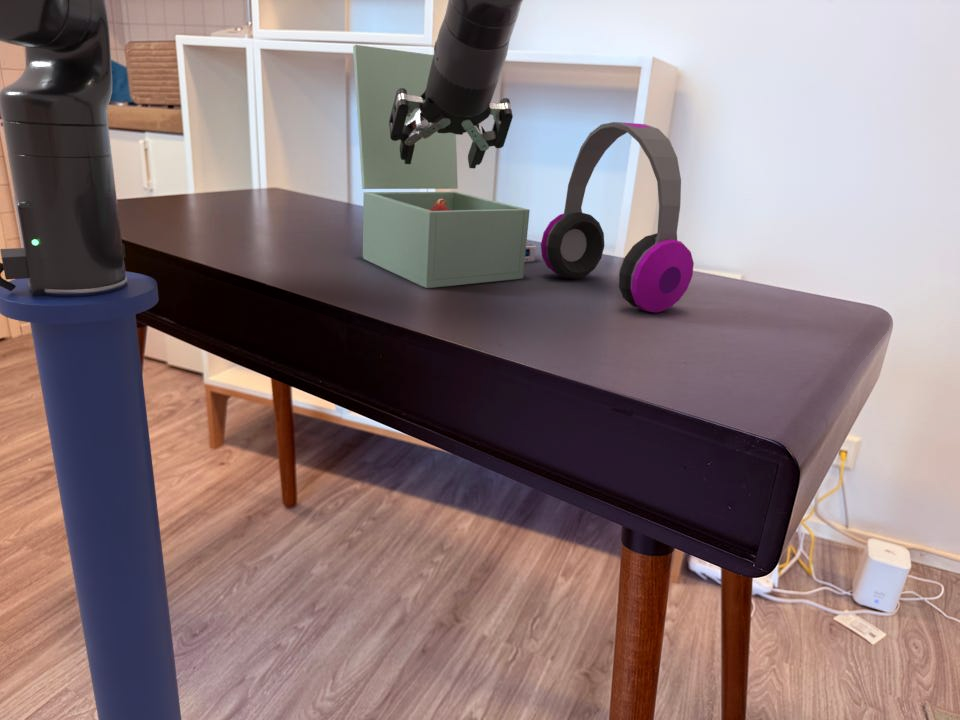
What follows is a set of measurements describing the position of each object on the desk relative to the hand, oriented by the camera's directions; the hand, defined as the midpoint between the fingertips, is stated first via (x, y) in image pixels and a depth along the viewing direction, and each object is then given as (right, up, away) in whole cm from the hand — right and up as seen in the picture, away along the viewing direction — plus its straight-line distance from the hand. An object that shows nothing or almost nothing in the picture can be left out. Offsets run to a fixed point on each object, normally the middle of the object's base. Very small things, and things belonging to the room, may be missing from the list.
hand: (439, 161), depth 86 cm
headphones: (+21, -18, -3) cm, 28 cm away
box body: (0, -14, +3) cm, 14 cm away
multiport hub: (+8, -10, +15) cm, 20 cm away
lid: (-4, +6, +4) cm, 8 cm away
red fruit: (0, -13, +3) cm, 13 cm away
